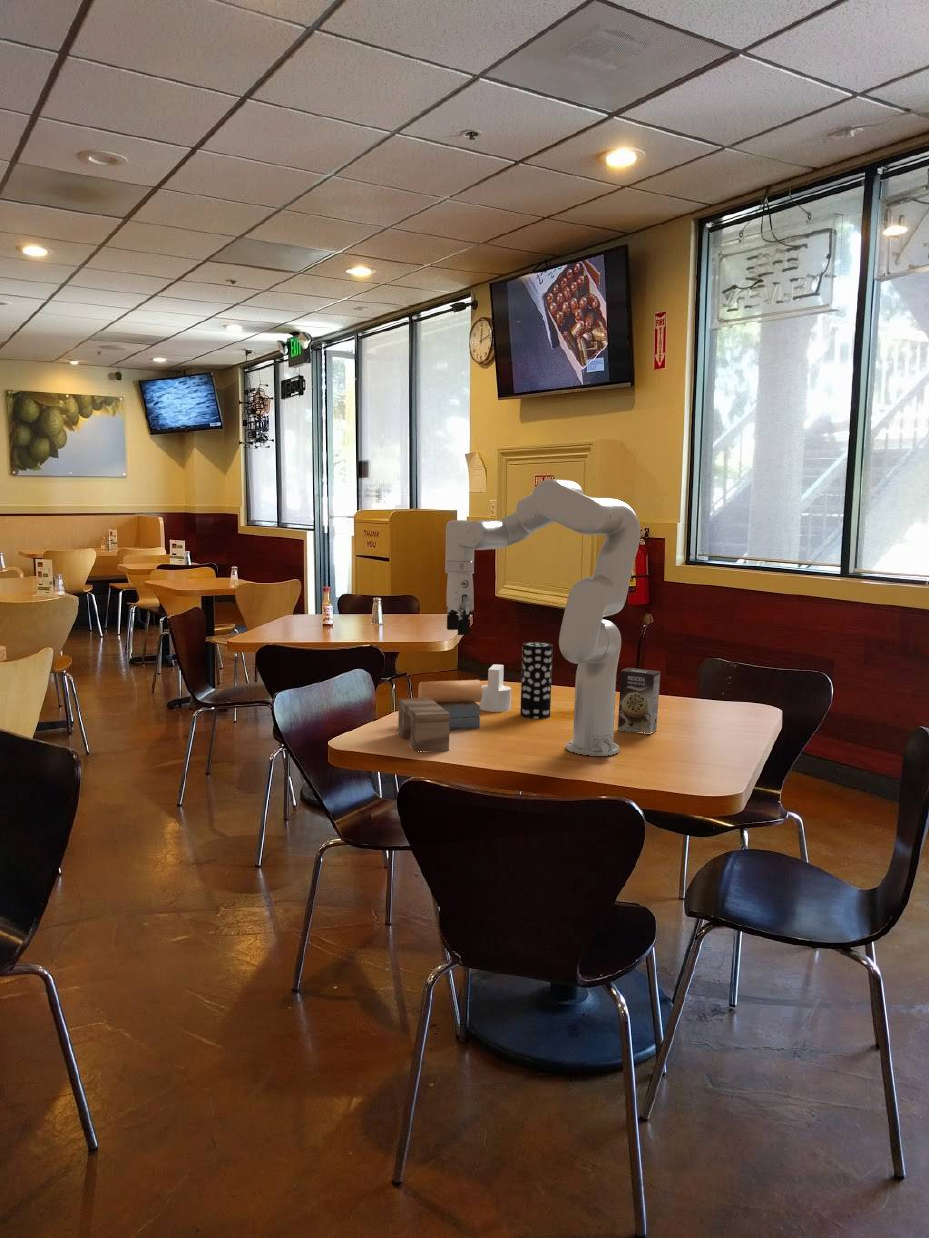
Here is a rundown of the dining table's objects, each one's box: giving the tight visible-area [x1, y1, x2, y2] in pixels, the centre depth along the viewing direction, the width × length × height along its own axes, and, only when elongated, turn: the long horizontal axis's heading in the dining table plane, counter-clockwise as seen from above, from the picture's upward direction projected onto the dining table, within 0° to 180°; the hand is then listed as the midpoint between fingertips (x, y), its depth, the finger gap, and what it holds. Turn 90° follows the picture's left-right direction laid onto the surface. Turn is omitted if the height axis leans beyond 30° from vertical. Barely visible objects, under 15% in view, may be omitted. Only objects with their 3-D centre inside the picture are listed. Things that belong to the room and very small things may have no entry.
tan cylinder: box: [417, 679, 483, 703], centre depth 243 cm, size 6×16×6 cm, turn 108°
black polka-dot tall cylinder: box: [519, 641, 554, 720], centre depth 254 cm, size 8×8×20 cm
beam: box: [397, 697, 450, 753], centre depth 223 cm, size 18×8×9 cm, turn 17°
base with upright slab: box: [478, 663, 512, 713], centre depth 262 cm, size 9×9×12 cm
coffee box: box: [617, 667, 661, 733], centre depth 239 cm, size 9×6×16 cm
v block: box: [437, 701, 481, 731], centre depth 244 cm, size 16×12×6 cm
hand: (458, 632), depth 242 cm, fingers open, 9 cm apart
